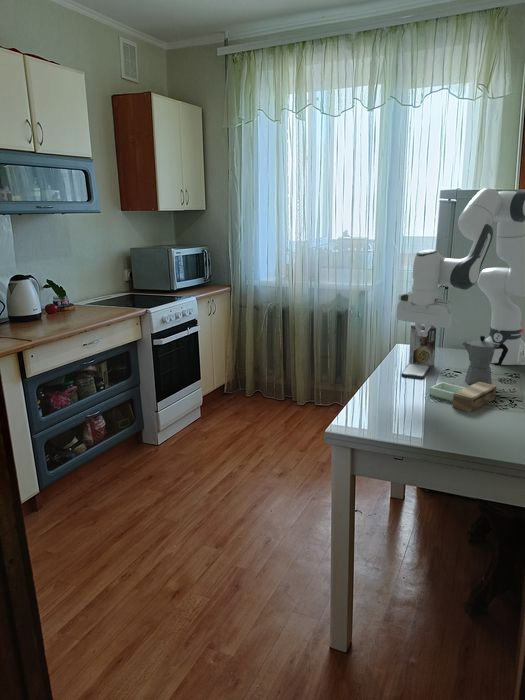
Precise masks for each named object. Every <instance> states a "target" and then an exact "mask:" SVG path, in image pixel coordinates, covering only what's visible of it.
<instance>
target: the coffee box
mask: <svg viewBox="0 0 525 700" xmlns="http://www.w3.org/2000/svg"><path fill="white" fill-rule="evenodd" d="M421 329H422V330H423V331H424V330H425V327H424V324H422V325H421ZM436 337H437V328H436V326H431V328H430V329H429V331H428V335H427V337H423V336H418V331H417V329H416V327H415V324H414V325H410V337H409V354H408V356H409V357H408V362H409V364H415V365H424V366H429V367H433V366H435V357H436V341H437V340H436V339H437V338H436Z"/></svg>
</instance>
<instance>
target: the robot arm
mask: <svg viewBox="0 0 525 700" xmlns="http://www.w3.org/2000/svg"><path fill="white" fill-rule="evenodd" d="M494 222H496V223H497V224H496V225H497V228H496V244H495V246H496V247H495V248H496V249H495V252H496V255H497V256H498V258H499V259H500V260H502V261H503V262H505V263H506V264H507V265H508V267H499V266H498V267H497V266H496V267H495V266H494V267H487V268H483V269H481V268H482V265H483V263H484V262H485V258H486V256H487V254H488V251H489V248H490V247H491V243H492V242H493V241H492V240H493V236H494V229H493V227H492V224H493V223H494ZM457 226H458V227H457V228H458V230H459V232H460V233H461V235H462V236H464V238H466V239H467V240H470V241H472V242H473V243H472V245H471V247H470V250H469V251H468V252H469V253H467V256H465V257H463V258H450V257H449V258H448V257H445V256H443V255H441V254H440V252H439V249H434V248H427V249H422V250H419V251H417V252H416V253H415V257H414V259H413V264H412V279H413V283H412V286H411V291H409V292H405V293H401V294H400V295H399V296H398V301H399V302H397V305H396V306H397V307H396V313H395V314H396V319H397V321H402V322H406V323H407V322H408V323H414V325H415V327H416V329H417V331H418V336H423V337H427V335H428V331H429V329H430V328H431V326H434V327H437V328H443V329H445V328H449V327H451V326H452V325H453V304H452V303H451V302H450V301H449V300H448V299H441V298H439V289H440V288H439V286H444V287H449V288H450V287H451V288H455V289H460V290H464V291H465V290H469V289H471V288H472V287H473V286H475V284H476V283H477V286H478V288H479V289H480V291H481V292H483V293H484V294H485V296H486V298H487V300H488V301H489V304H490V307H491V319H490V320H491V322H490V327H489V329H488V337H485V339H484V341H487V342H492V343H498V344H505V346H506V347H507V348H508V352H507V354H506V356H505V358H504V360H503V362H502V364H501V365H502V366H516V365H517V366H525V341H524V339H522V334H523V333H524V330H525V329H524V328H523V327H521V323H522V310H521V308H520V307H519V306H518V305H517V304H515V303H514V302H513V301H512V300H511V299H510V296H515V297H522V298H523V297H524V298H525V191H522V190H518V191H515V190H514V191H512V190H501V191H497V190H496V189H494V188H490V187H487V188H482V189H481V190H479V191H478V192H476V194H475V195H473V197H472V198H471V199H470V200H469V202H468V203H467V204H466V206H465V207H464V209H462V212H461V213H460V215H459V217H458V220H457ZM421 325H424V327H425V330H424V331H423V330H422V329H421ZM502 351H503V349H495V351H494V354H493V358H492V361H491V363H490V364H494V363H498V362H499V358H500V356H501V353H502ZM501 365H500V366H501Z"/></svg>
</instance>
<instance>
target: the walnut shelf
mask: <svg viewBox="0 0 525 700" xmlns="http://www.w3.org/2000/svg"><path fill="white" fill-rule="evenodd" d="M496 390H497V385H494V384H487V383H483V382H477V383H475V384H473V385H469V386H467V387H464V389H462V390H460V391H458V392H456V393H454V396H453V402H452V408H454V409H458V410H462V411H465V412H468V413H472V412H473V411H475V410H477V409H479V408H481V407H482V406H485V405H486V404H488V403H490V402H492V401H494V400H495V399H496Z"/></svg>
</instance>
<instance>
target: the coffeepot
mask: <svg viewBox="0 0 525 700" xmlns="http://www.w3.org/2000/svg"><path fill="white" fill-rule="evenodd" d="M479 338H480V340H471V341H466V342H463V343H462V345H463V346H464V348H465V350H466V352H467V354H468V360H469V363H470V364H469V365H468V368H467V371H466V375H465V378H464V382H465V383H466V384H467V385H469V386H471V385H473V384H475V383H477V382H483V383H487V384H491V385H493V384H492V383H493V382H492V371H491V369H492V368H491V367H490V366H491V364H492V363H491V361H492V358H493V354H494V351H495V349H503V351H502V353H501V356H500V358H499V362H498V363H493V364H494V366H497V367H499V366H501V364H502V362H503V360H504V358H505V356H506V354H507V352H508V348H507V347H506V346H505V344H498V343H492V342H487V341H485V340H486V336H484V335H480V336H479Z"/></svg>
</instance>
